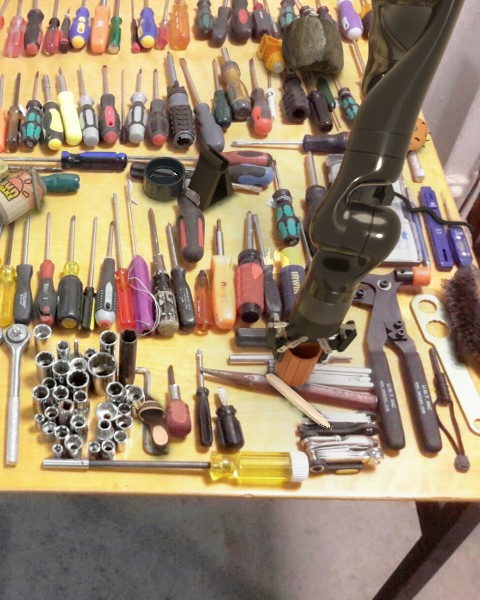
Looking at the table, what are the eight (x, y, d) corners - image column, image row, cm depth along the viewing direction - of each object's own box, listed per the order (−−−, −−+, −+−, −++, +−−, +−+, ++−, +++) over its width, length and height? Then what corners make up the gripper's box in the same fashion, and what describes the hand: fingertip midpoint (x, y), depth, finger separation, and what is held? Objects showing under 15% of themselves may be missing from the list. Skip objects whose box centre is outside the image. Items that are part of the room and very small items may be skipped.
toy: (415, 116, 145) (424, 102, 140) (434, 151, 141) (445, 137, 137) (364, 129, 145) (372, 115, 140) (383, 164, 141) (391, 151, 136)
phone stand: (201, 211, 135) (207, 170, 125) (184, 195, 138) (188, 154, 128) (233, 193, 137) (241, 151, 128) (215, 178, 141) (222, 136, 131)
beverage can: (11, 237, 135) (54, 208, 139) (5, 211, 128) (51, 181, 132) (-14, 212, 139) (28, 185, 143) (-21, 186, 132) (24, 158, 136)
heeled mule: (157, 394, 111) (157, 384, 108) (177, 451, 105) (177, 442, 102) (132, 400, 111) (132, 390, 108) (151, 458, 105) (151, 449, 101)
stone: (270, 31, 154) (299, 32, 164) (288, 88, 155) (316, 86, 165) (316, 3, 145) (344, 6, 155) (336, 64, 145) (362, 64, 155)
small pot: (307, 357, 112) (319, 330, 105) (312, 387, 109) (325, 361, 102) (273, 355, 113) (283, 329, 106) (276, 385, 110) (287, 360, 102)
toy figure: (263, 76, 158) (256, 51, 166) (284, 80, 159) (276, 55, 166) (272, 57, 154) (264, 32, 161) (293, 61, 155) (284, 35, 162)
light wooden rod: (326, 435, 105) (329, 431, 103) (262, 378, 111) (264, 374, 110) (332, 429, 105) (335, 425, 104) (268, 373, 112) (270, 369, 111)
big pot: (183, 173, 142) (185, 156, 138) (184, 202, 137) (186, 186, 133) (143, 173, 143) (144, 156, 139) (143, 202, 138) (143, 185, 134)
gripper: (275, 322, 92) (256, 376, 106) (377, 324, 91) (345, 379, 104) (270, 281, 96) (253, 338, 110) (367, 283, 95) (337, 340, 109)
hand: (298, 358), depth 107 cm, fingers closed on small pot, 6 cm apart
